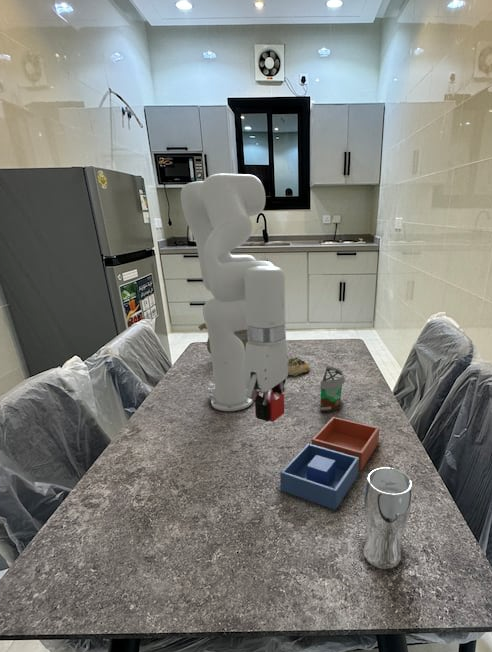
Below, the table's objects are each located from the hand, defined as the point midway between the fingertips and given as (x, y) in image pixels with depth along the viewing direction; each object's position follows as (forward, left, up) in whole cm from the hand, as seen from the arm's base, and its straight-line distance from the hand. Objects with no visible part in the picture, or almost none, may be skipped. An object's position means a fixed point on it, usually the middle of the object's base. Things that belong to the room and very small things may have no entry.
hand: (270, 413), depth 82 cm
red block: (0, 0, 0) cm, 0 cm away
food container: (+1, +32, -13) cm, 35 cm away
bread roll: (-23, +51, -13) cm, 58 cm away
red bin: (+13, +12, -13) cm, 22 cm away
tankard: (-52, +50, -13) cm, 74 cm away
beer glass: (+30, -14, -13) cm, 35 cm away
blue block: (+13, -2, -12) cm, 18 cm away
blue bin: (+13, -2, -13) cm, 18 cm away
